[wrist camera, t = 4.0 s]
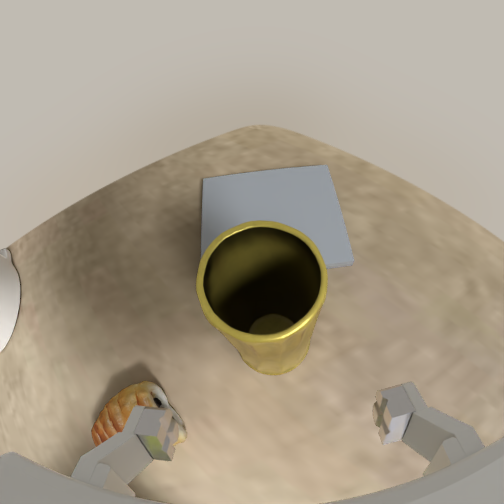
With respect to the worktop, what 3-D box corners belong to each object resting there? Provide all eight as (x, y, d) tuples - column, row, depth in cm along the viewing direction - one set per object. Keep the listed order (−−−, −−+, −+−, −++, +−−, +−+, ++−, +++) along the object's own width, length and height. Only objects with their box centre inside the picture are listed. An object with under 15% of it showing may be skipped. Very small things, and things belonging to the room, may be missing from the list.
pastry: (123, 474, 19) (102, 482, 15) (89, 417, 22) (65, 417, 18) (196, 434, 21) (181, 440, 17) (155, 373, 23) (135, 368, 20)
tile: (203, 282, 27) (200, 277, 26) (205, 184, 32) (203, 178, 32) (352, 265, 26) (354, 260, 25) (326, 170, 32) (327, 164, 31)
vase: (244, 302, 26) (203, 206, 13) (313, 309, 25) (341, 216, 12) (232, 369, 23) (168, 339, 10) (305, 378, 22) (334, 363, 9)
